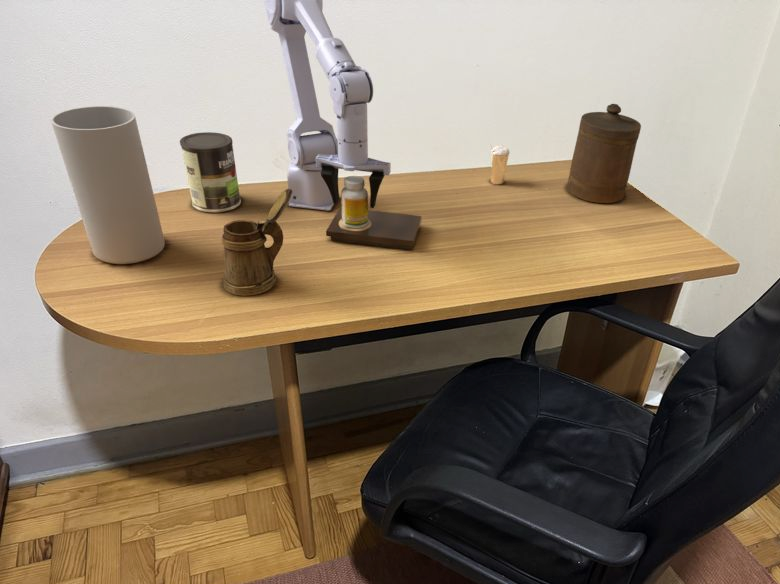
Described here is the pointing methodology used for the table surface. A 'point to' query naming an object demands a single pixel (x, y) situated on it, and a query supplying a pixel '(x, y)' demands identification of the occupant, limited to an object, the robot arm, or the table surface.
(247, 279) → the wooden mug
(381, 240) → the stand
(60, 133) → the cylinder vase
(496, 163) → the milkshake
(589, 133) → the wooden container
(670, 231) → the table surface
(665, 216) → the table surface
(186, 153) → the coffee can
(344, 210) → the supplement bottle
